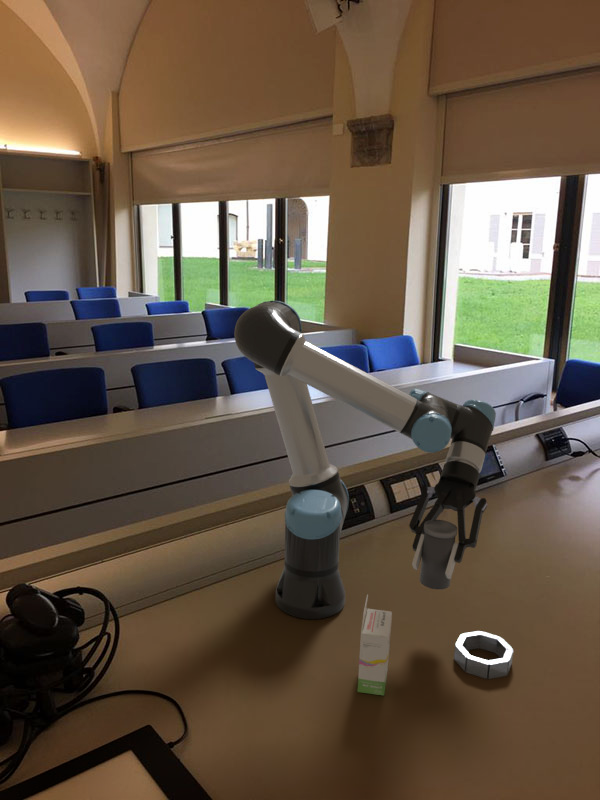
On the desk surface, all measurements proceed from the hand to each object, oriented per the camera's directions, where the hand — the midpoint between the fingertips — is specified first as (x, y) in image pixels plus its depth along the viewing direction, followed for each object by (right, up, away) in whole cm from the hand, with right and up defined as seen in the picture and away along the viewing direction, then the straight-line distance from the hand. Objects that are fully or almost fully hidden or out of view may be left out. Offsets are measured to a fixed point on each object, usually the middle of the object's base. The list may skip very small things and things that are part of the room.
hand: (431, 571), depth 131 cm
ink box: (-12, -17, -10) cm, 23 cm away
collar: (+9, -16, -3) cm, 19 cm away
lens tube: (+1, -3, +4) cm, 5 cm away
